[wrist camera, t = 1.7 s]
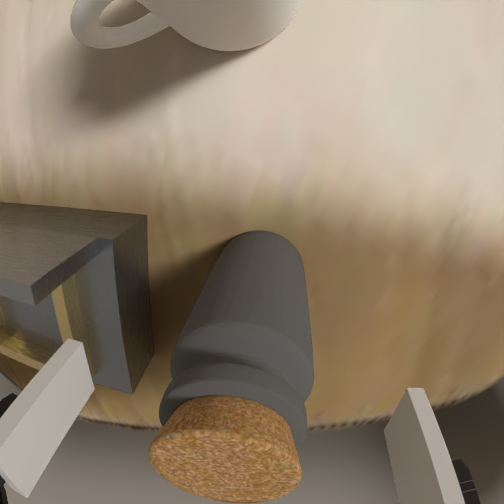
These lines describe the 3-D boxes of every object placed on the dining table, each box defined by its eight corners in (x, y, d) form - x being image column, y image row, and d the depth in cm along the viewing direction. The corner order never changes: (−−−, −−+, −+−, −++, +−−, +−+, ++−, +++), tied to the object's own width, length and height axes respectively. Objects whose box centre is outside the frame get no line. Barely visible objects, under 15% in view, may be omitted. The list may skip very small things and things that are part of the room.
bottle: (296, 222, 20) (313, 413, 7) (309, 302, 22) (324, 506, 9) (208, 237, 21) (96, 412, 7) (228, 313, 23) (171, 504, 9)
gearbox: (-20, 201, 22) (-106, 240, 12) (146, 215, 21) (47, 289, 11) (1, 309, 27) (-62, 365, 16) (154, 354, 26) (101, 455, 15)
